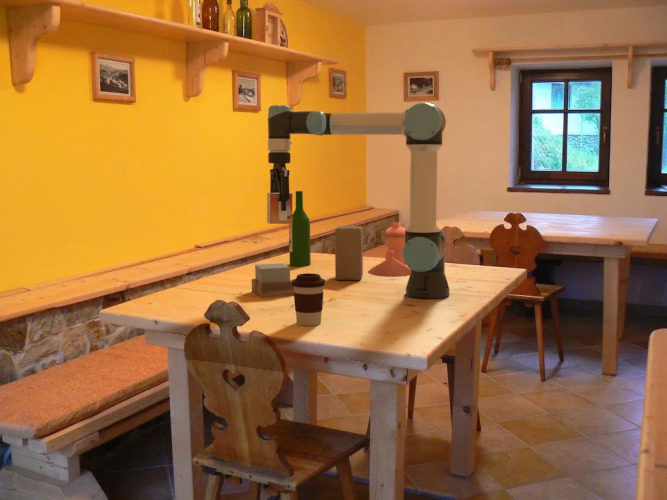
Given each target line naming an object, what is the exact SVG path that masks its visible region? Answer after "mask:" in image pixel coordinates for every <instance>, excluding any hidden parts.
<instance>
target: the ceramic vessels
mask: <svg viewBox="0 0 667 500" xmlns="http://www.w3.org/2000/svg"><path fill="white" fill-rule="evenodd" d="M392 223H393V224H392V225H393V226H391V227H388V228H387V229H386V231H385V234H386V235H387V237H386V238H385V241H384V244H385V246H386V247H387V248H388V250H387V251H386V252H385V254H384V255H385V256H384V261H382V262H380V263H379V264H377V265H376V266H373V267H372V268H370V269H369V270H368V271H367V273H368V274H369V275H372V276H375V277H386V278H387V277H388V278H397V277H398V278H399V277H407V276H410V274H411V269H410V268H409V267H408V266H407V265H406V264H405V262H404V260H403V254H402V252H403V248H404V245H405V229H406V227H404V226H401V224H402V223H401V222H399V221H398V222H396V221H395V222H392Z"/></svg>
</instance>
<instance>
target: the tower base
mask: <svg viewBox="0 0 667 500" xmlns="http://www.w3.org/2000/svg"><path fill="white" fill-rule="evenodd" d="M292 280H293V279H292V278H290V282H279V283H263V284H261V283H260V282H259V281H258V280H256V279H255V278H251V292H252V293H253V294H255V295H257V296H258V297H261V298H263V299H264V298H276V297H286V296H287V297H288V296H294V286H292Z"/></svg>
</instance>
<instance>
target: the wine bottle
mask: <svg viewBox="0 0 667 500" xmlns="http://www.w3.org/2000/svg"><path fill="white" fill-rule="evenodd" d="M303 193H304V191H303V190H296V191H295V210H294V211H293V212H292V224H288V237H289V238H288V241H289V243H288V245H289V246H288V247H289V267H296V268H297V267H298V268H302V267H309V266H311V263H312V262H311V259H312V258H311V221H310V218H309V216H308V215H307V213H306V211H305V209H304V199H303V197H304V196H303V195H304V194H303Z"/></svg>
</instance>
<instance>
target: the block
mask: <svg viewBox="0 0 667 500" xmlns="http://www.w3.org/2000/svg"><path fill="white" fill-rule="evenodd" d="M363 229H364V228H363V226H361V225H339V226H337V227H336V228H335V230H334V253H335V255H334V262H335V263H334V265H335V269H334V270H335V271H334V273H335V275H334V276H335V277H334V278H335V280H337V281H361V280H362V278H363V275H364V271H363V270H364V258H363V257H364V255H363V252H364V249H363V248H364V245H363V243H364V240H363V236H364V235H363V234H364V233H363Z"/></svg>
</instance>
